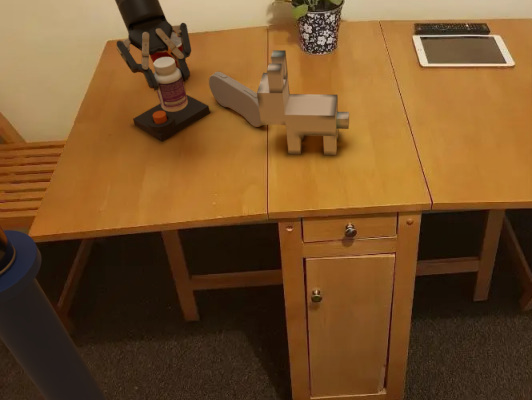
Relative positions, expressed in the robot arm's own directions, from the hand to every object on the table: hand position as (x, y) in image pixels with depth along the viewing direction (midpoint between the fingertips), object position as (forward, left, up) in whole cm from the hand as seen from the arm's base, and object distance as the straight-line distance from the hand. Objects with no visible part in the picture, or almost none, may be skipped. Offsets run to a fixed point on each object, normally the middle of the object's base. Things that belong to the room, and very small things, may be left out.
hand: (171, 84), depth 110 cm
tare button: (+3, +12, -15) cm, 19 cm away
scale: (+7, +14, -18) cm, 24 cm away
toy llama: (+19, -17, -18) cm, 31 cm away
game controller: (+18, +3, -18) cm, 26 cm away
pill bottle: (+1, +2, -6) cm, 6 cm away
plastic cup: (+18, +27, -18) cm, 38 cm away
